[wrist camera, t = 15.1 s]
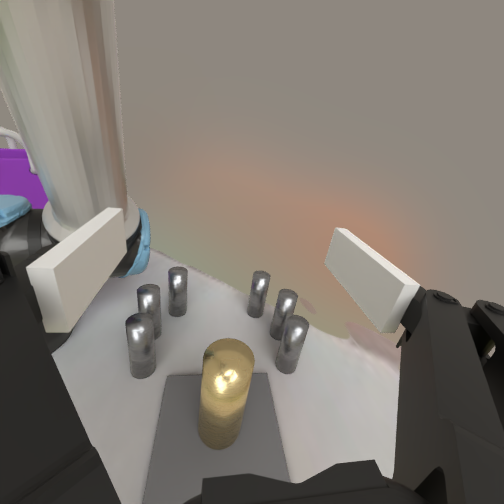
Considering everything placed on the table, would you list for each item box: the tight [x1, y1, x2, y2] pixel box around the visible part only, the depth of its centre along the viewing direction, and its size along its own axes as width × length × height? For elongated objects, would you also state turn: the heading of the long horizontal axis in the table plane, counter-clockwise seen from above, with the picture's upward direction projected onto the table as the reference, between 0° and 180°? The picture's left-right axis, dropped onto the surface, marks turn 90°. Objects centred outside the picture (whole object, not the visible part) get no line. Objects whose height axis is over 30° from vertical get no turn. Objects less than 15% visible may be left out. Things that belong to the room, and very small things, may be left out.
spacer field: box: [125, 267, 309, 379], centre depth 45 cm, size 29×18×10 cm, turn 98°
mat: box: [142, 373, 290, 504], centre depth 32 cm, size 16×16×1 cm
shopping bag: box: [0, 126, 49, 209], centre depth 61 cm, size 28×22×30 cm
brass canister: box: [198, 338, 255, 450], centre depth 29 cm, size 6×6×13 cm
